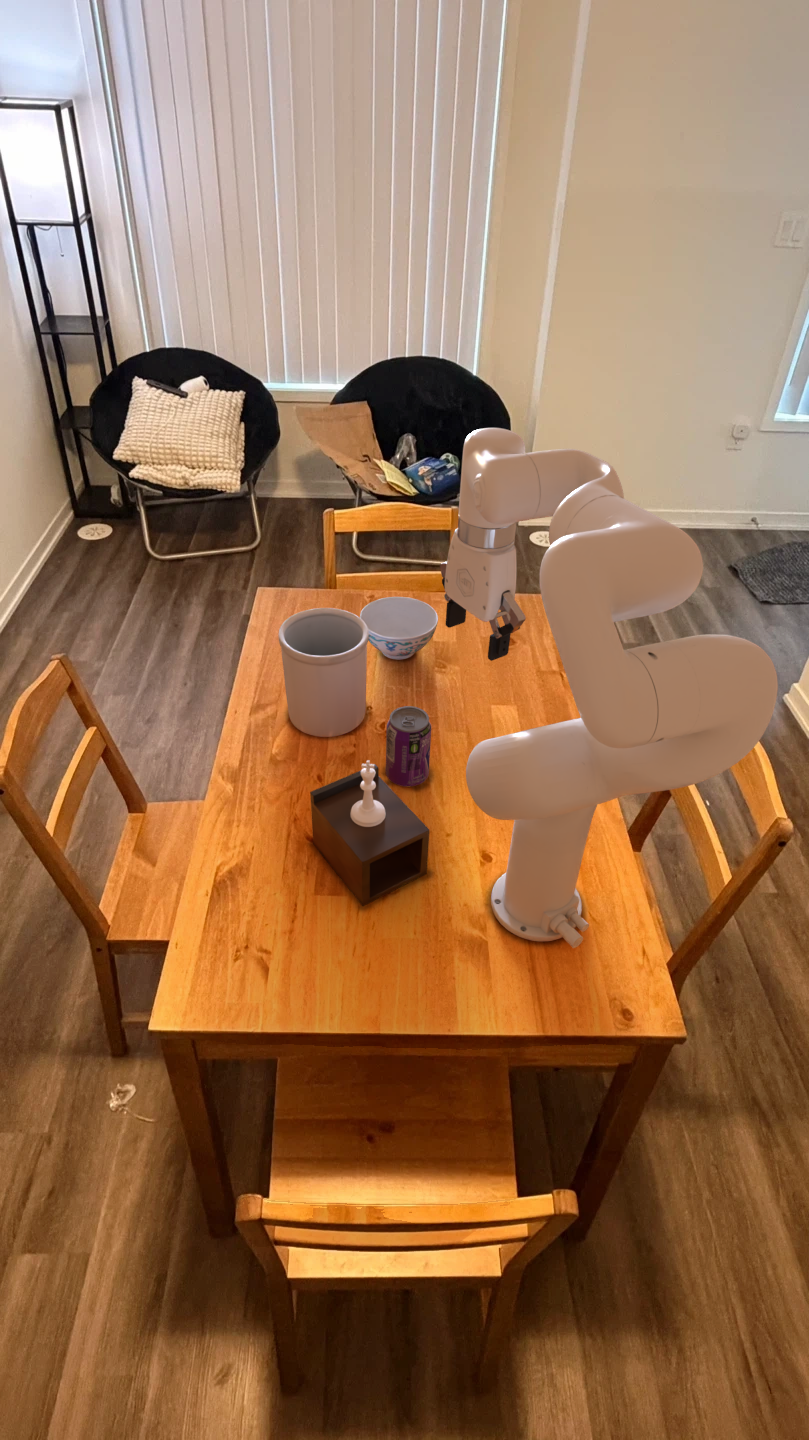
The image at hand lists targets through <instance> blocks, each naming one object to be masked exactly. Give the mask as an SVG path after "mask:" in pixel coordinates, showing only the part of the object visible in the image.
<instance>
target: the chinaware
mask: <svg viewBox="0 0 809 1440" xmlns="http://www.w3.org/2000/svg"><path fill="white" fill-rule="evenodd" d="M359 617H360V618H361V619H362V620H363V621H364V622H365V623H366V625H367V627H368V631H369V639H368V643H370V645H372V646H373V647H374V648H375V649H376V650H377V651H378V652H381V654H382V655H383V656H384V657H386V658H387V659H391V660H407V659H409V658H411V657H413V655H414V654H415V653H417V652H419V651H421V650H422V649H423V648H424V647H426V645H427V644H428V643H429V642H430V641H431V639H432V637H433V636H434V634H435V632H436V629H437V626H438V623H439V615H438V613H437V611H436V610H435V608H433V607H432V606H431V605H430V604H428V603H427V602H425V601H423V600H421V599H417V598H413V597H406V596H388V597H382V598H378V599H375V600H373V601H371V602H368V604H367V605H365V606H364V607H363V608H362V610H361V611H360V613H359Z"/></svg>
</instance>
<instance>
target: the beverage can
mask: <svg viewBox="0 0 809 1440" xmlns="http://www.w3.org/2000/svg"><path fill="white" fill-rule="evenodd" d="M385 728H386V730H385V731H386V732H385V733H386V734H385V735H386V736H385V776H386V777H387V779H388V780H389V781H390V782H391V783H393V784H395V785H397V786H400V787H415V786H419V785H421V784H422V783H424V782H425V781H426V780H427V779H428V778H429V775H430V765H431V763H430V761H431V746H432V745H431V744H432V724H431V722H430V716H429V714H428V712H427V711H425V710H424V709H422V708H420V707H417V706H413V705H403V706H400V707H397V708H395V709H394V710H392V711H391V712H390V714H389V719H388V721H387V723H386V727H385Z"/></svg>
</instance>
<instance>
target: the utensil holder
mask: <svg viewBox="0 0 809 1440" xmlns="http://www.w3.org/2000/svg"><path fill="white" fill-rule="evenodd" d="M277 637H278V642H279V646H280V649H281V659H282V660H281V661H282V669H283V670H282V671H283V678H284V686H285V687H284V688H285V696H286V697H285V698H286V705H287V712H288V716H289V720H290V722H291V723H292V725H293V726H294V727H295V728H296V729H297V730H298V731H300V732H302V733H304V734H306V735H310V736H312V737H319V738H331V737H337V736H338V737H339V736H342V735H343V736H344V735H345V734H348V733H350V732H352V731H354V730H355V729H357V727H359V726H360V724H361V723H362V722H363V720H364V718H365V716H366V711H367V670H368V667H367V666H368V665H367V663H368V659H367V658H368V657H367V656H368V655H367V653H368V652H367V651H368V644H369V641H368V639H369V631H368V627H367V625H366V623H365V622H364V621H363V620H362V619H361V618H360V616H358V615H357V614H355V613H353V612H350V611H348V610H345V609H340V608H334V607H319V608H317V607H316V608H311V609H306V610H302V611H299V612H297V613H294V614H293V615H290V616H289V617H287V619H285V620H284V621H283V622H282V623H281V625H280V627H279V629H278V636H277Z"/></svg>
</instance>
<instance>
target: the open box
mask: <svg viewBox="0 0 809 1440" xmlns="http://www.w3.org/2000/svg"><path fill="white" fill-rule="evenodd" d="M373 769H374V770H375V772H376V773H375V776H374V778H373V781H374V782H375V784H376V787H375V789H374V790H372V796H373V800H376V801H378V802H380V803H381V804H382V805H383V806H384V808H385V813H386V815H385V819H384V820H383V821H382V822H381V823H380V824H378V825H376V826H372V827H364V826H360V825H358V824H356V823H355V822H354V821H353V820H352V819H351V815H350V813H351V809H352V806H353V805H354V804H355V803H356V802H358V801H360V800H363V796H364V790H362V789H361V787H360V784H361V782H362V781H363V778H362V776H361V770H362V769H361V770H358V771H356V772H353V773H351V774H349V775H347V776H344V777H342V778H340V779H337V780H335V781H332V782H330V783H327V784H326V785H323V786H321V787H318V788H316V789H314V790H310V792H309V795H310V796H309V798H310V813H311V814H310V815H311V831H312V845H313V846H314V848H316V850H317V851H318V852H319V854H320V855H321V856H322V857H323V858H324V860H325V861H326V862H327V864H328V865H329V866H330V867H331V868H332V870H333V871H334V872H335V874H336V875H337V877H338V878H339V879H340V880H341V881H342V883H343V884H344V885H345V886H346V887H347V889H348V890H349V891H350V893H351V894H352V895H353V896H354V897H355V899H356V900H357V901H358V903H359V904H360V905H361V907H365V906H367V905H368V904H370V903H373V902H375V901H377V900H378V899H380V898H383V897H384V896H387V895H388V894H390V893H392V892H395V891H396V890H398V889H400V888H402V887H404V886H406V885H407V884H410V883H411V882H413V881H416V880H417V879H419V878H421V877H424V876H425V875H427V874H428V861H429V848H430V846H429V845H430V829H429V828H428V826H427V825H426V824H425V823H424V822H423V821H422V819H420V818H419V816H417V815H416V814H415V812H413V810H412V809H411V808H410V807H409V806H408V805H407V804H406V802H404V801H403V800H402V799H401V798H400V796H398V794H396V793H395V791H393V789H392V788H391V787H390V786H389V785H388V784H387V783H386V781H384V780H383V779H382V777H380V775H379V774H380V772H379V771H380V768H379V766H378V765H377V764H375V763H374V768H373Z"/></svg>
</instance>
